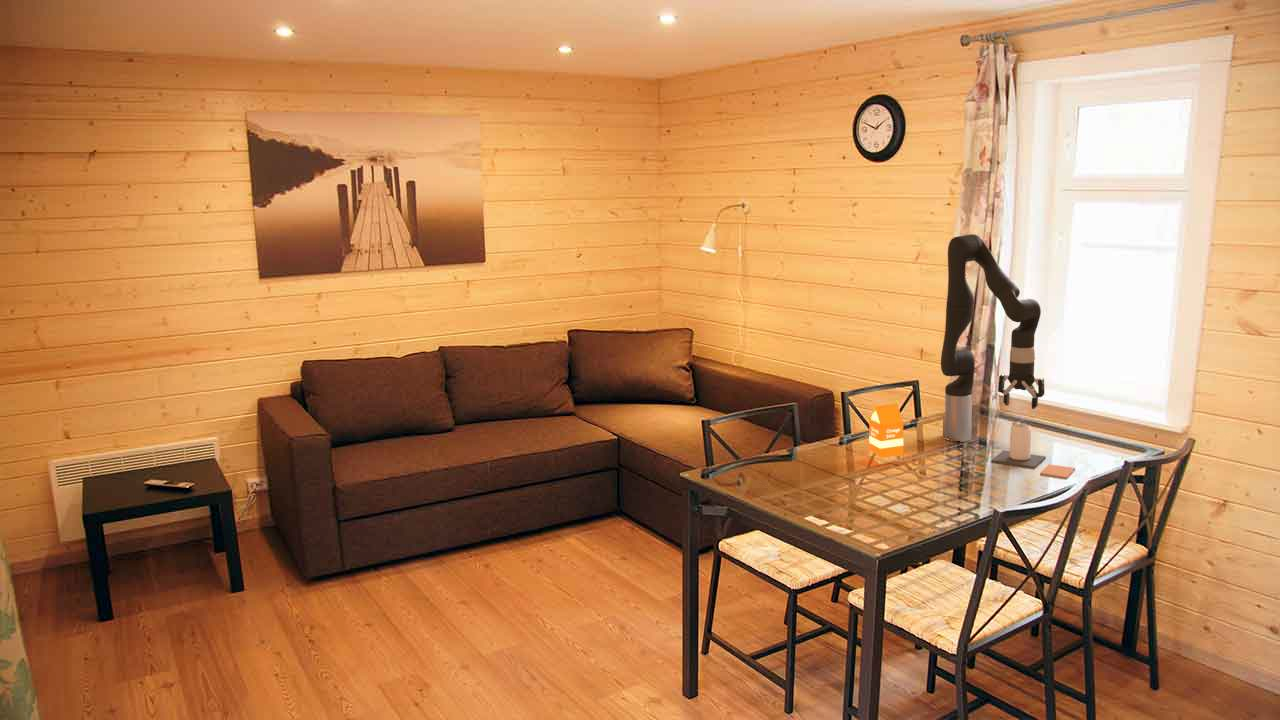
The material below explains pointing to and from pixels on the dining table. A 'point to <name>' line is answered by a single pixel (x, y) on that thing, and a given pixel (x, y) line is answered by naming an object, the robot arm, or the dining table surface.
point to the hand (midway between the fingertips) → (1020, 406)
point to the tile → (1057, 471)
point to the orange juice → (886, 431)
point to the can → (1020, 441)
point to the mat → (1006, 459)
